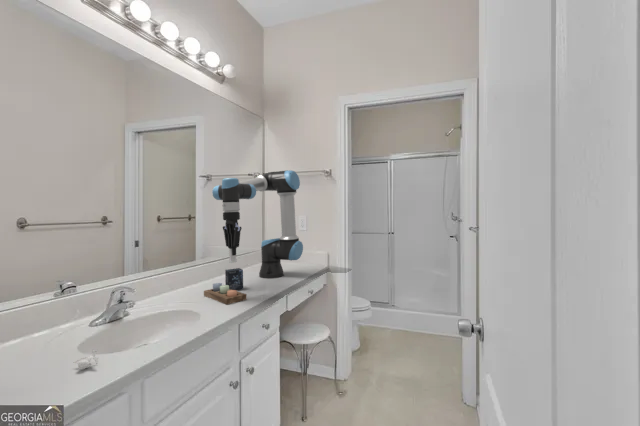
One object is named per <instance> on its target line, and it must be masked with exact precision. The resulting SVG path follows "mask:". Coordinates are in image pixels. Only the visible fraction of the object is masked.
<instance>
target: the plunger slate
mask: <svg viewBox="0 0 640 426" xmlns="http://www.w3.org/2000/svg"><path fill="white" fill-rule="evenodd" d="M222 285H223V283H221V282H216V283H212V289H213V291H214V292H217V291H220V286H222Z"/></svg>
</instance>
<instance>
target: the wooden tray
mask: <svg viewBox="0 0 640 426" xmlns="http://www.w3.org/2000/svg"><path fill="white" fill-rule="evenodd" d="M229 290H231V289H229ZM203 296H204V297H206V298H209V299H210V300H214V301H216V302H218V303H221V304H224V305H230V304H235V303H238V302H243V301H247V293H244V292H241V291H239V290H237V296H233V297H228V296H227V294H220V291H217V292H214V291H213V288H210V289H205V290H203Z"/></svg>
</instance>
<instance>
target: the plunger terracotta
mask: <svg viewBox="0 0 640 426" xmlns="http://www.w3.org/2000/svg"><path fill="white" fill-rule="evenodd" d="M237 291H238V290H229V291H227V296H228V297H233V296H237Z"/></svg>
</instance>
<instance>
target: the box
mask: <svg viewBox="0 0 640 426" xmlns="http://www.w3.org/2000/svg"><path fill="white" fill-rule="evenodd" d="M224 271H225V273H224V274H225V278H224V280H225V281H224V282H225V284H224V285H229V289H231V290H237V291H241V290H244V270H243V268H241V267H238V268H237V267H236V268H230V269H224Z"/></svg>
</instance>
